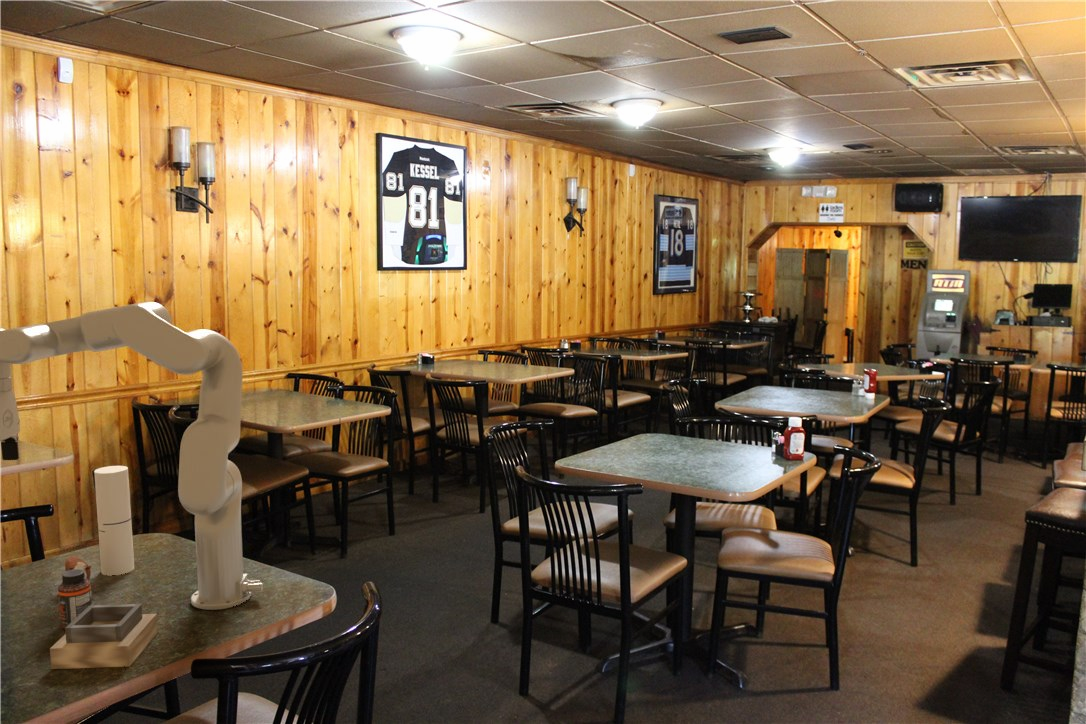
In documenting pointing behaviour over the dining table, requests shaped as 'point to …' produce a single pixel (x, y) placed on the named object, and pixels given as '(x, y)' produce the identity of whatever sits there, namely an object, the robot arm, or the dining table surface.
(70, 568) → the bull figurine
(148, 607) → the dining table surface
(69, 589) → the supplement bottle
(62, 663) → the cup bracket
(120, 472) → the cylindrical container
